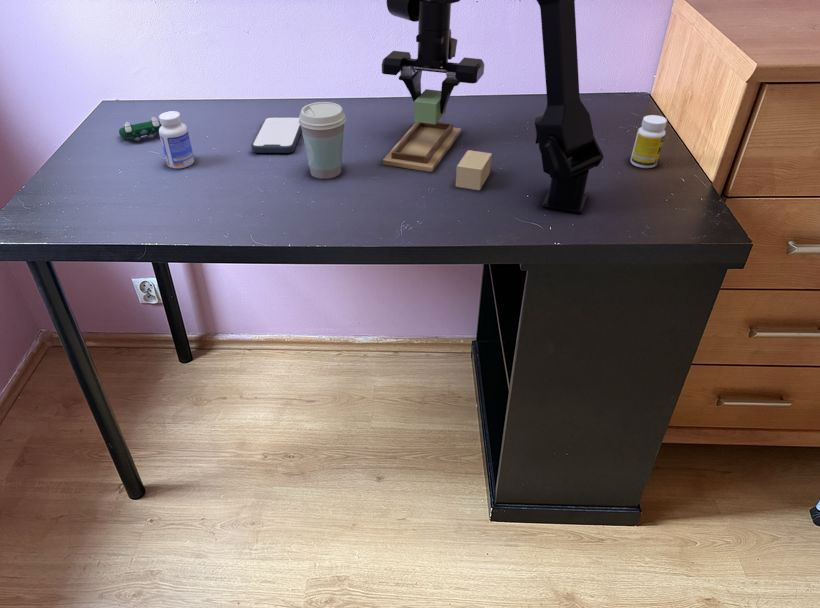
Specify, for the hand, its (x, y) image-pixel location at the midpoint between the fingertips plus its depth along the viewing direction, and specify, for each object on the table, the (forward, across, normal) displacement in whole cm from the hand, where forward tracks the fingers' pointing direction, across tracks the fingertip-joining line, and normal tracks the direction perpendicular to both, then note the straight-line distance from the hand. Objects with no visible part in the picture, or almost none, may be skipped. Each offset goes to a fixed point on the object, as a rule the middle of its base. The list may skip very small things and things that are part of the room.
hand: (430, 111), depth 130 cm
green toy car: (+6, +58, +18) cm, 61 cm away
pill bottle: (+6, +43, +26) cm, 51 cm away
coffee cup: (+6, +14, +20) cm, 25 cm away
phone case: (+6, +30, +9) cm, 32 cm away
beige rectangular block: (+6, -13, +14) cm, 20 cm away
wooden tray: (+6, 0, +4) cm, 7 cm away
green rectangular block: (+1, 0, 0) cm, 1 cm away
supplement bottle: (+6, -41, -3) cm, 42 cm away
